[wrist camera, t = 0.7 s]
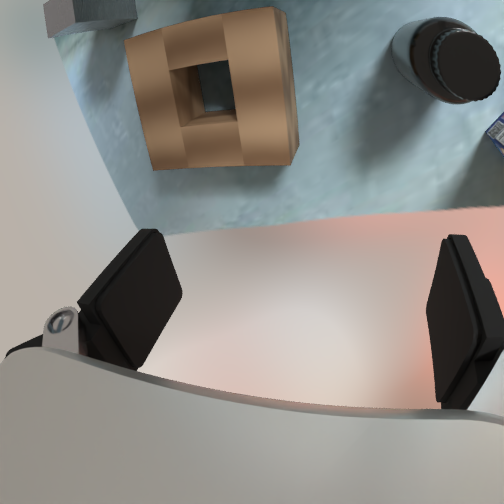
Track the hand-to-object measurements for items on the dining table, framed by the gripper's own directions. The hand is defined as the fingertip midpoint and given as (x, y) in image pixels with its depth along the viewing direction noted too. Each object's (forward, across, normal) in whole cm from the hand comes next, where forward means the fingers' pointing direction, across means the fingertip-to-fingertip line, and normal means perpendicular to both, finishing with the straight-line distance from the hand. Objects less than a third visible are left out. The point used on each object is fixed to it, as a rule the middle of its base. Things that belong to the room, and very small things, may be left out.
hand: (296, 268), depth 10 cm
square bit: (+24, +21, -16) cm, 36 cm away
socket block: (+24, +10, -4) cm, 26 cm away
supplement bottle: (+24, -10, -6) cm, 27 cm away
